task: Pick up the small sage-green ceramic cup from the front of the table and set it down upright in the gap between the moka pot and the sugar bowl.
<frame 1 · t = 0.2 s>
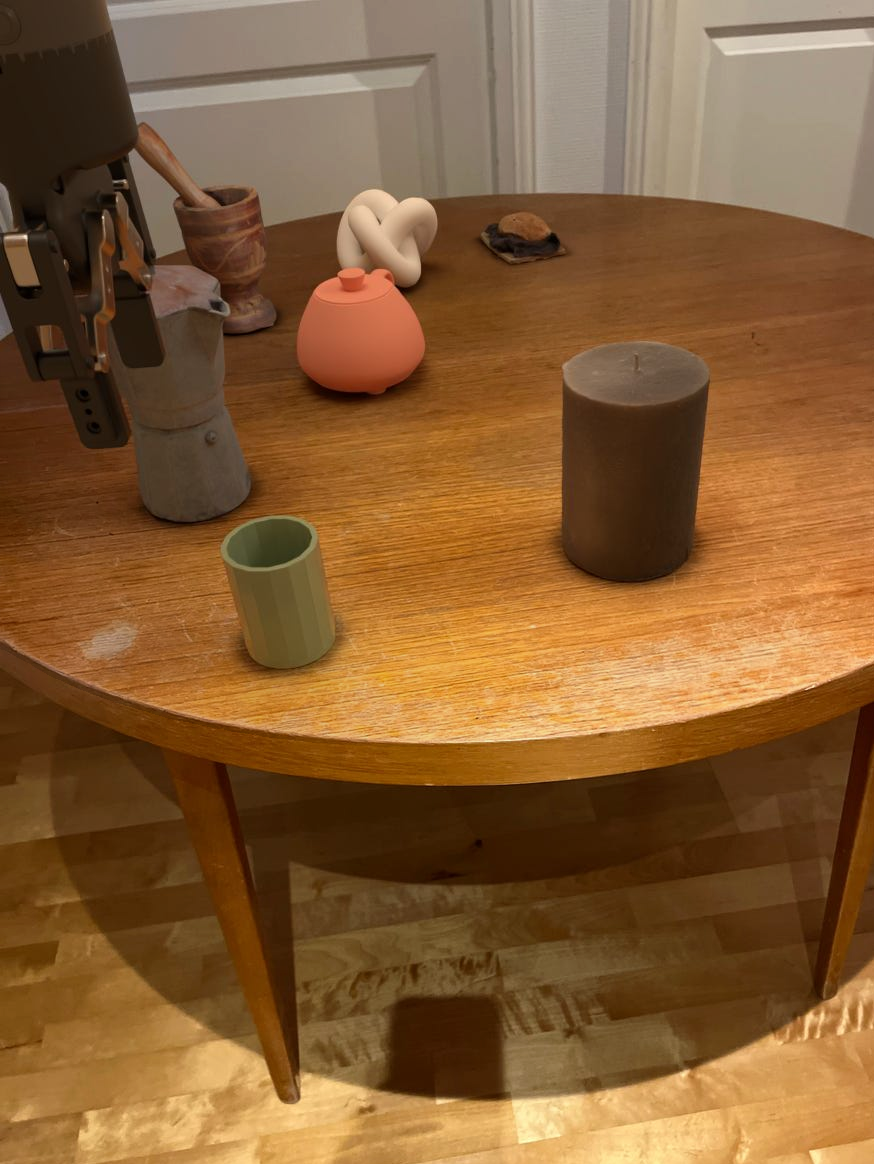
hand: (128, 402, 49), 20 cm above the table, tool pointing down, fingers open, 8 cm apart
mortar and pestle: (228, 324, 107), on the table
moka pot: (194, 496, 81), on the table
sugar bowl: (369, 373, 97), on the table
pillar candle: (625, 544, 73), on the table
cup: (291, 639, 66), on the table
cream knot sculpture: (396, 278, 116), on the table
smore: (521, 247, 121), on the table
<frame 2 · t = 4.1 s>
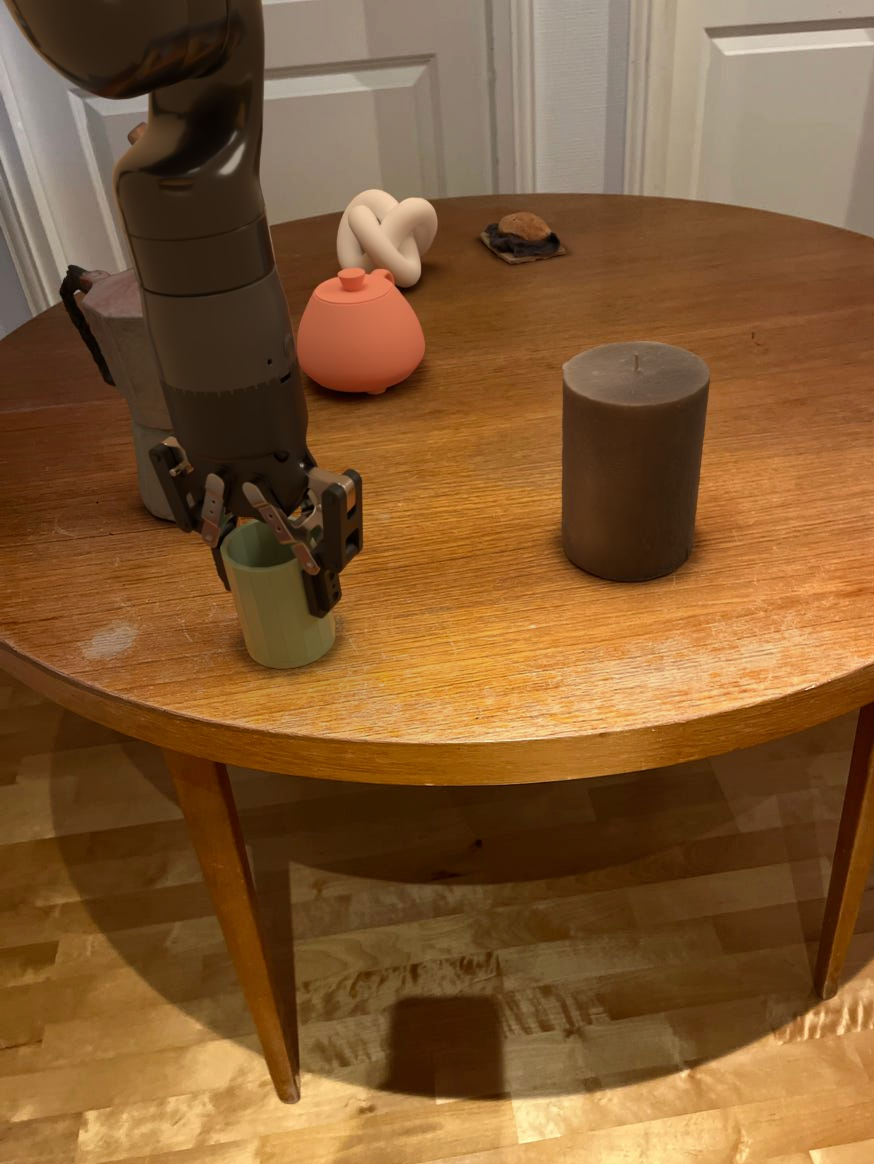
hand: (282, 597, 64), 4 cm above the table, tool pointing down, fingers closed on cup, 6 cm apart
cup: (291, 639, 66), on the table, touching gripper
everything else where it was.
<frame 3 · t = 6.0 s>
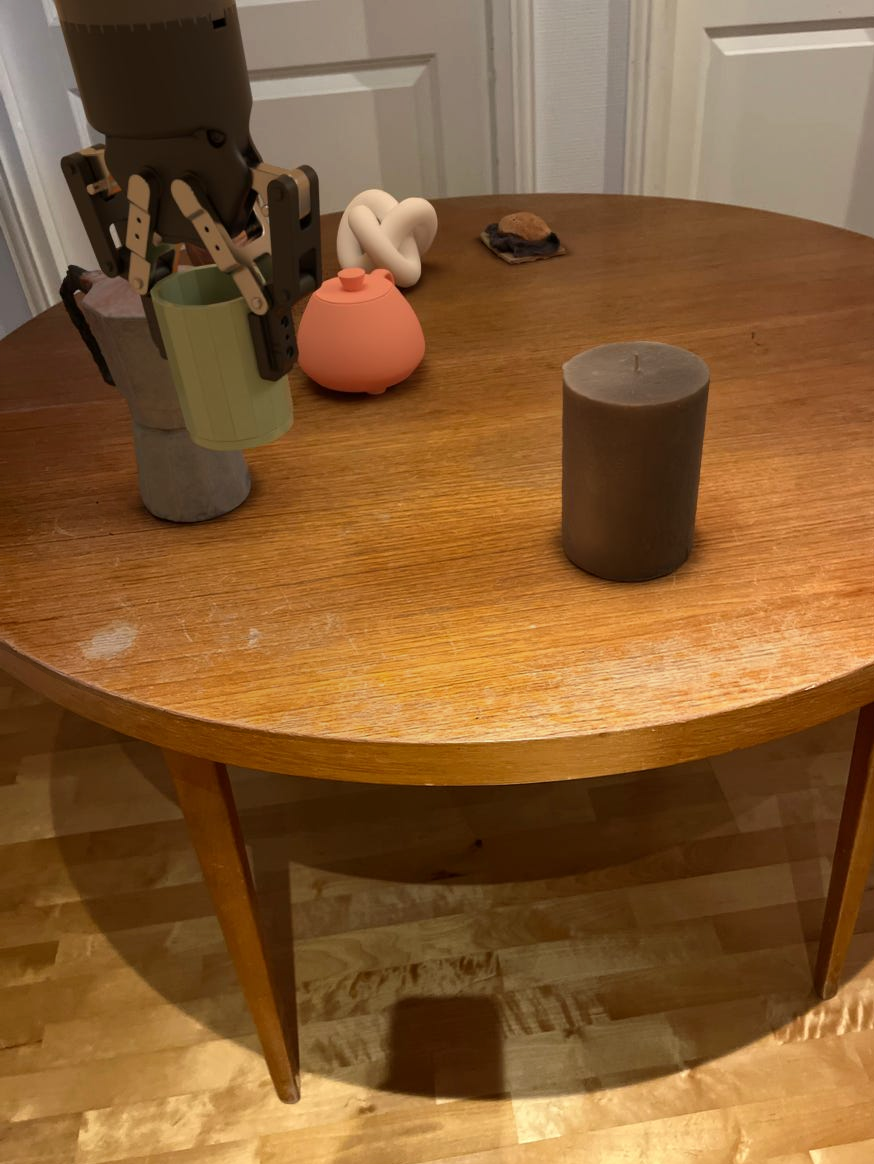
hand: (228, 363, 53), 20 cm above the table, tool pointing down, fingers closed on cup, 6 cm apart
cup: (241, 424, 56), point 16 cm above the table, touching gripper
everything else where it was.
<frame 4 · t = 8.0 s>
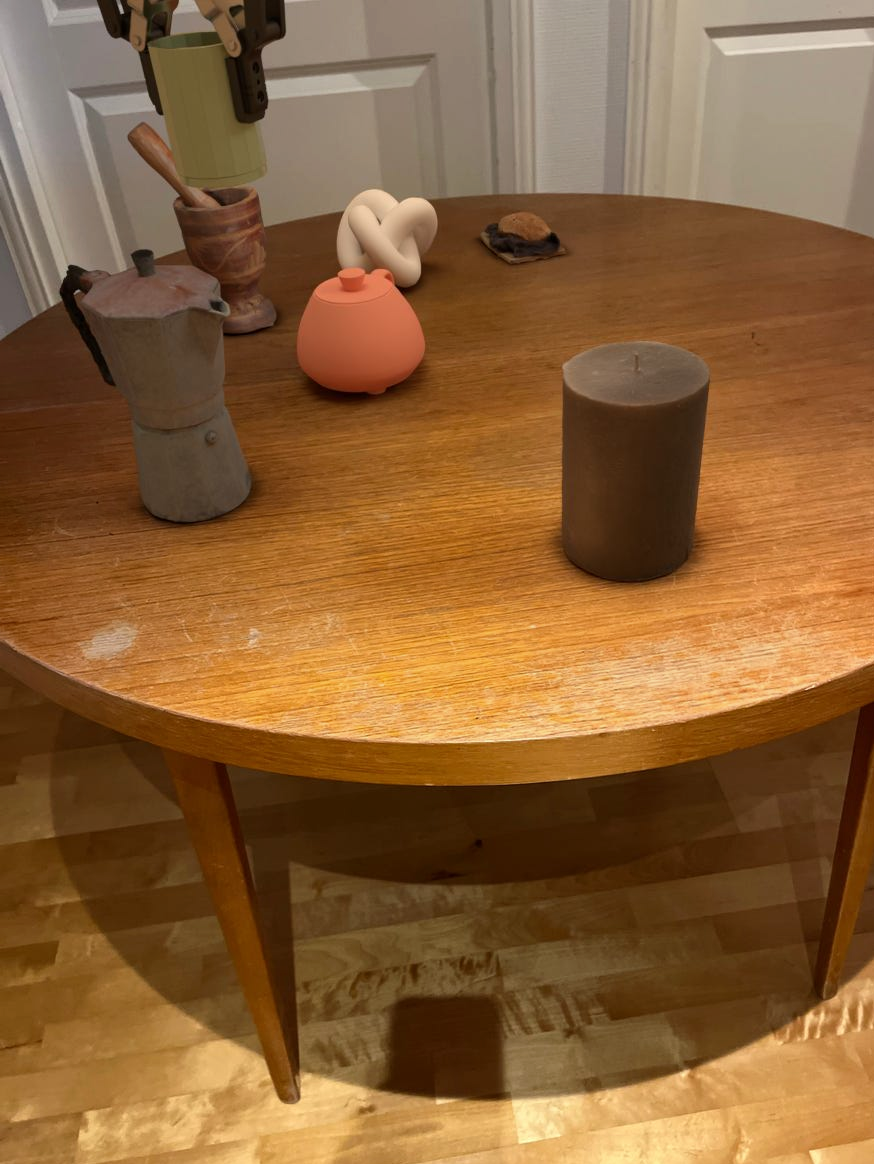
hand: (211, 116, 64), 27 cm above the table, tool pointing down, fingers closed on cup, 6 cm apart
cup: (223, 174, 67), point 24 cm above the table, touching gripper
everything else where it was.
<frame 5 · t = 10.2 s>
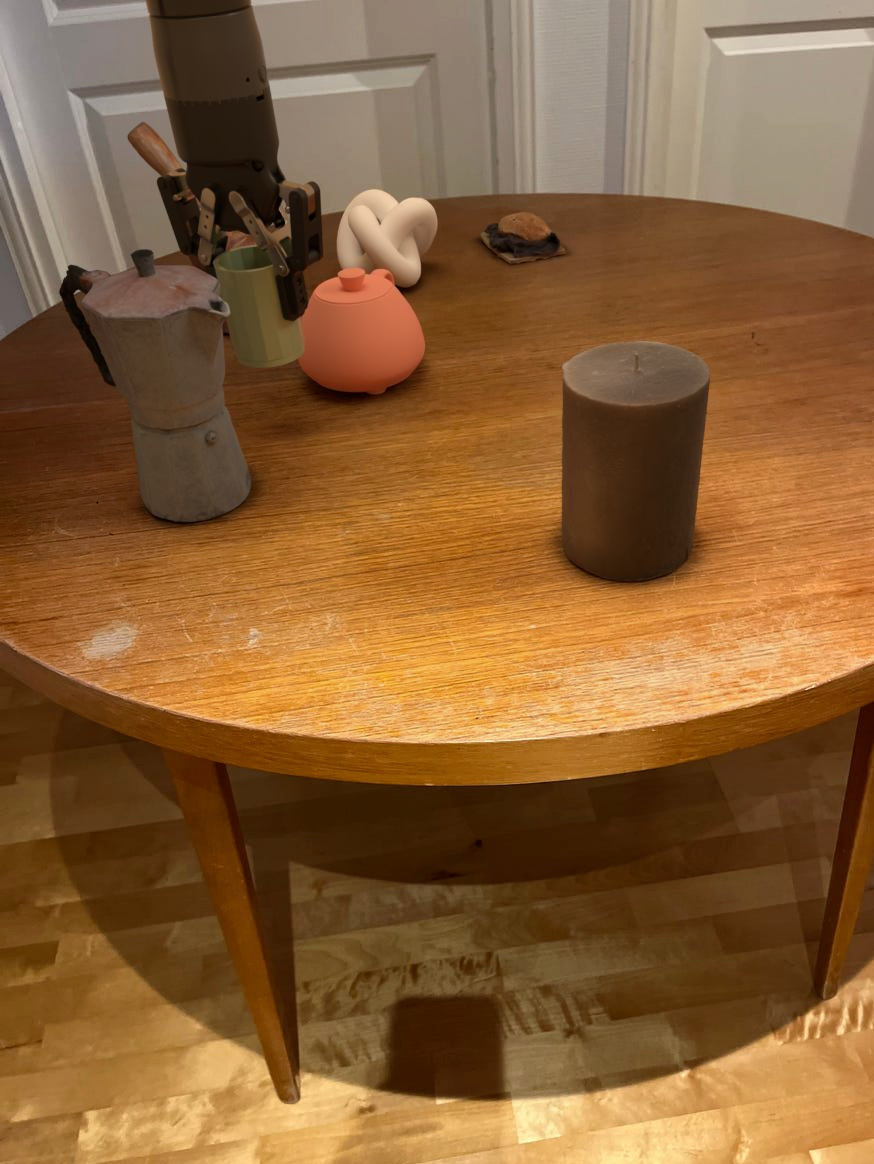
hand: (262, 311, 81), 11 cm above the table, tool pointing down, fingers closed on cup, 6 cm apart
cup: (270, 352, 83), point 7 cm above the table, touching gripper
everything else where it was.
when the fingers open (4 cm above the table, at t = 12.4 s): cup stays where it is, on the table.
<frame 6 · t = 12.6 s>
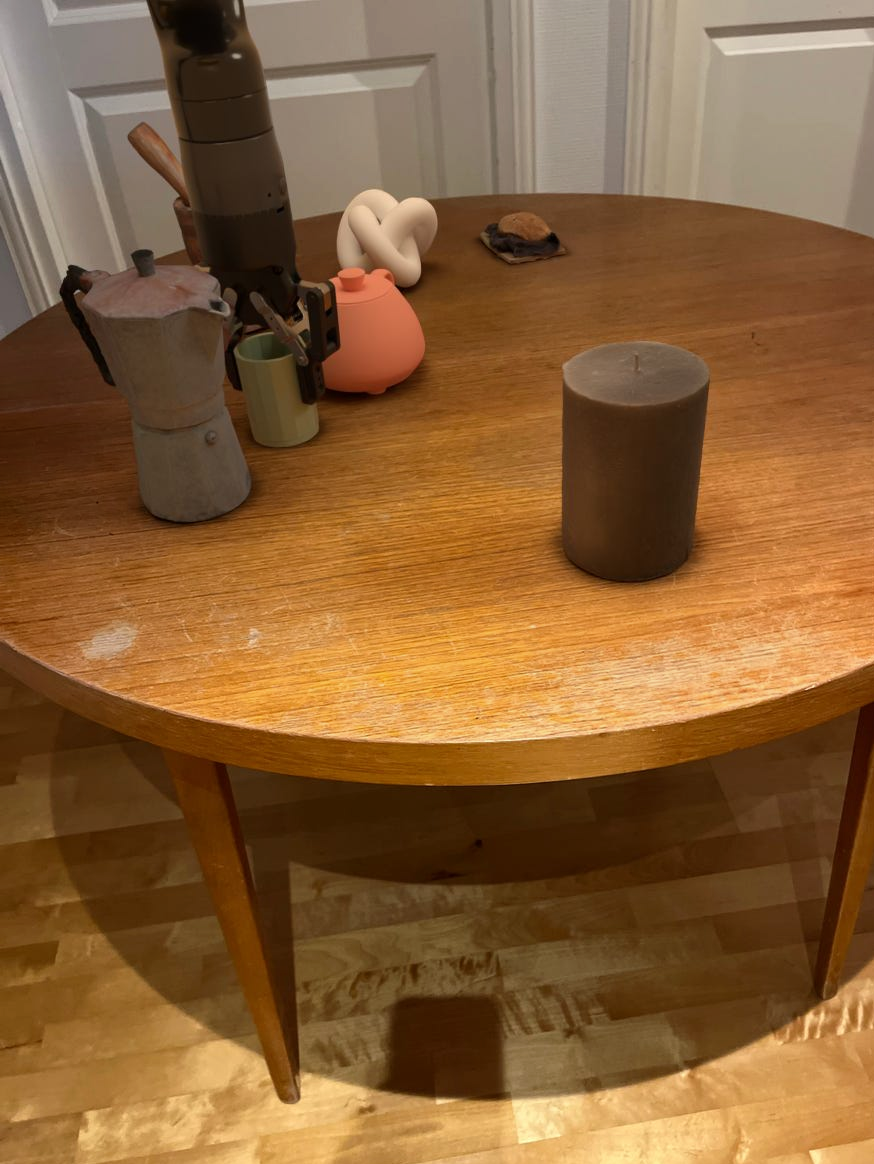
hand: (278, 393, 86), 4 cm above the table, tool pointing down, fingers open, 6 cm apart
cup: (286, 430, 88), on the table
everything else where it was.
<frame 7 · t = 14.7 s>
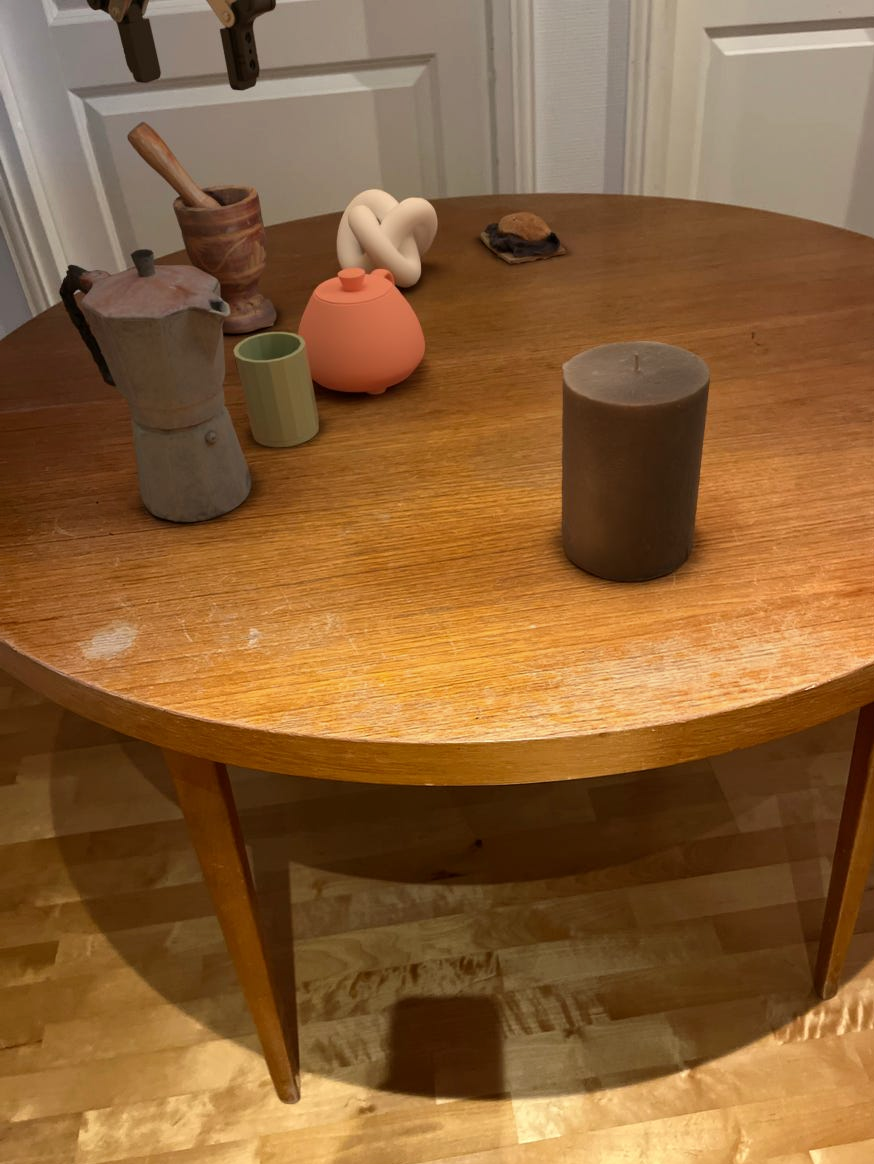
hand: (195, 84, 70), 28 cm above the table, tool pointing down, fingers open, 8 cm apart
nothing on the table moved.
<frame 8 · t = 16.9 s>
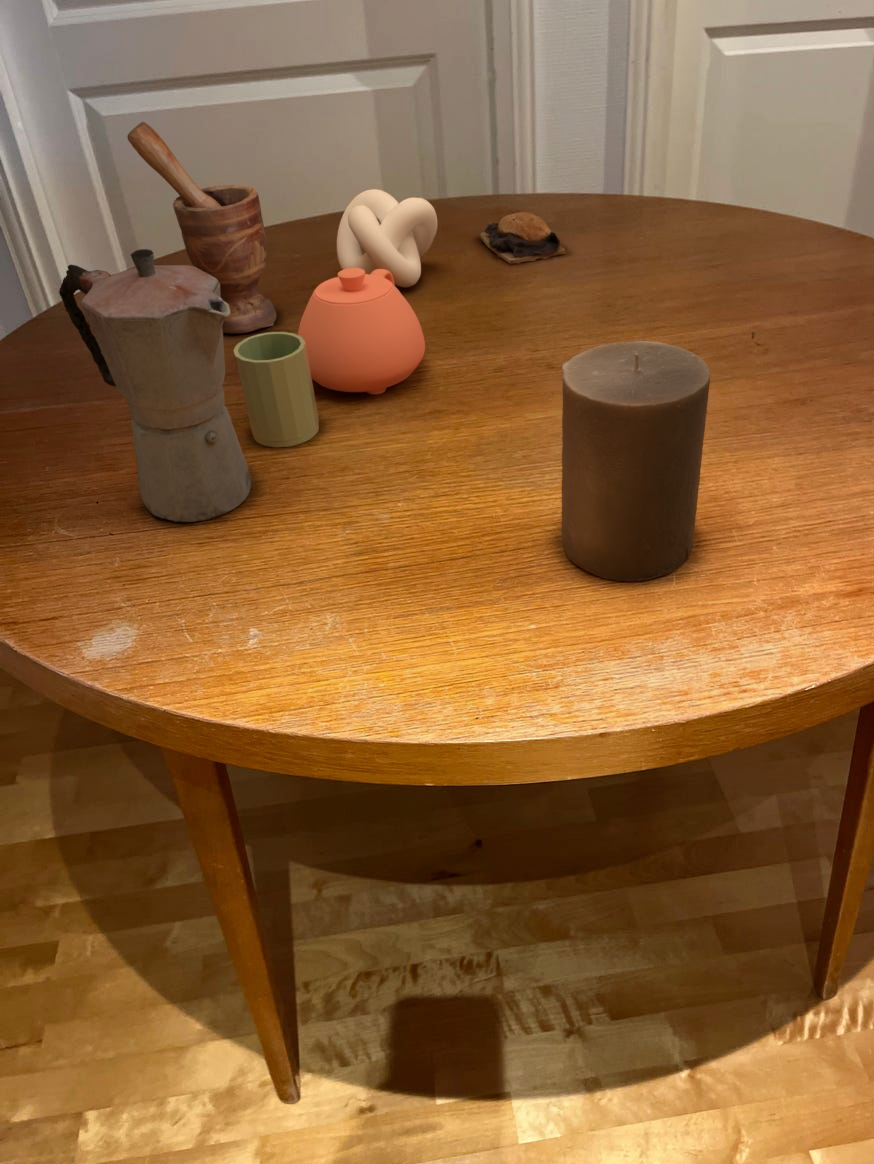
nothing on the table moved.
at the end: cup inside the target area on the table beside the moka pot (0.1 cm from its centre), on the table; cup 13.0 cm from the sugar bowl (horizontally); cup tilted 0° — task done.
